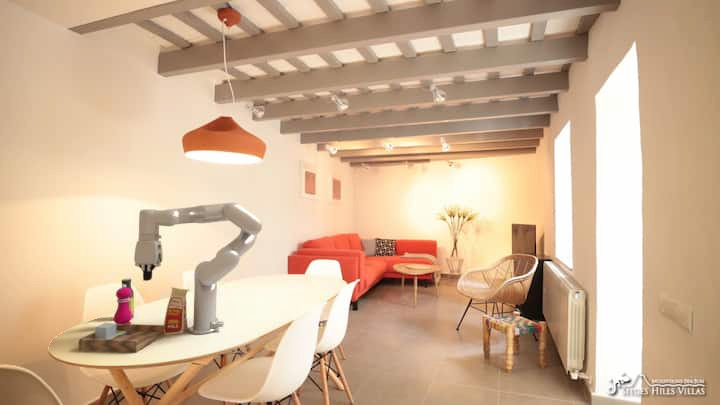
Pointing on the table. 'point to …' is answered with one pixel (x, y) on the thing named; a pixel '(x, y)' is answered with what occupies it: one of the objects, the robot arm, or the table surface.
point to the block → (105, 331)
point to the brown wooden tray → (124, 339)
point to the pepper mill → (123, 306)
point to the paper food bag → (176, 313)
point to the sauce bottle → (131, 302)
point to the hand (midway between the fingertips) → (147, 279)
